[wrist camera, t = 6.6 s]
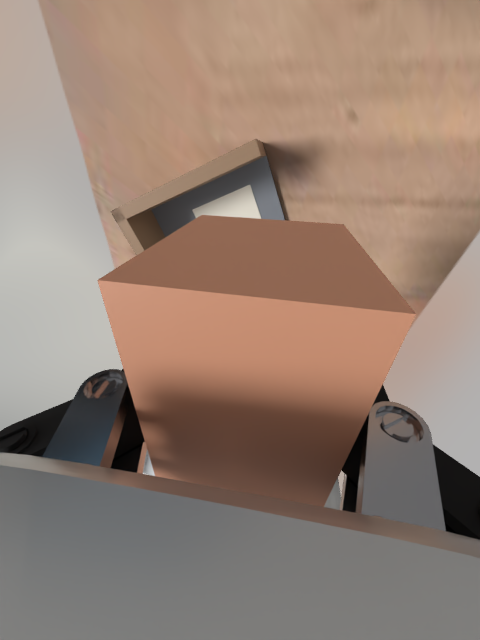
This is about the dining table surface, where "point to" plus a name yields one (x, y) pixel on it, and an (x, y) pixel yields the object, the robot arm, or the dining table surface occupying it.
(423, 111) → the dining table surface
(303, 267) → the rust block
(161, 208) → the arena
